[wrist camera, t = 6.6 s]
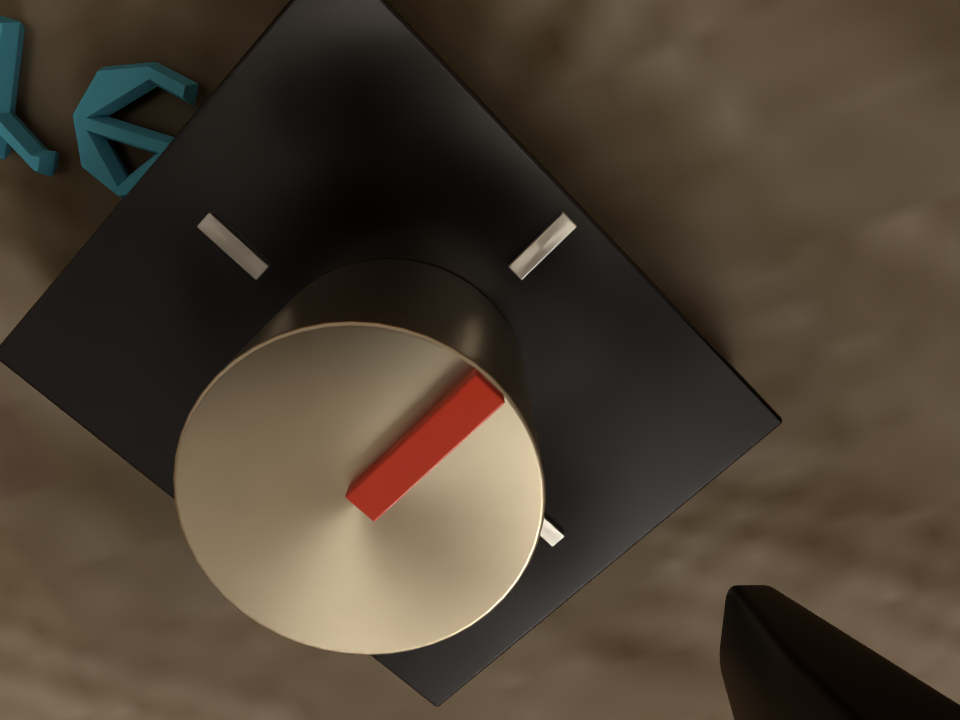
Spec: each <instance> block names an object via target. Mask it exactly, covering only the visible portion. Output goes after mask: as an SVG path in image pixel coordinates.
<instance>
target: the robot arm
mask: <svg viewBox="0 0 960 720" xmlns="http://www.w3.org/2000/svg"><path fill="white" fill-rule="evenodd" d="M720 666H721V672H722V676H723V680H724V683H725V687H726V691H727V694H728V698H729V702H730V705H731V709H732V713H733V716H734V720H960V705H959V704H957V703H956V702H954V701H952V700H951V699H949V698H948V697H946V696H944V695H943V694H941V693H940V692H938V691H936V690H935V689H933V688H932V687H930V686H929V685H927V684H925V683H924V682H922V681H921V680H919V679H917V678H916V677H914V676H913V675H911V674H909V673H908V672H906V671H905V670H903V669H901V668H900V667H898V666H897V665H895V664H893V663H892V662H890V661H889V660H887V659H886V658H884V657H882V656H881V655H879V654H878V653H876V652H874V651H873V650H871V649H870V648H868V647H866V646H865V645H863V644H862V643H860V642H858V641H857V640H855V639H854V638H852V637H850V636H849V635H847V634H846V633H844V632H843V631H841V630H839V629H838V628H836V627H835V626H833V625H831V624H830V623H828V622H827V621H825V620H823V619H822V618H820V617H819V616H817V615H815V614H814V613H812V612H811V611H809V610H807V609H806V608H804V607H803V606H801V605H800V604H798V603H796V602H795V601H793V600H792V599H790V598H788V597H787V596H785V595H784V594H782V593H780V592H779V591H777V590H776V589H774V588H772V587H770V586H766V585H736V586H733V587H732V588H730V589H729V591H728V593H727V596H726V601H725V610H724V618H723V627H722V635H721V644H720Z"/></svg>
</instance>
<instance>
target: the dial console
mask: <svg viewBox="0 0 960 720" xmlns="http://www.w3.org/2000/svg"><path fill="white" fill-rule="evenodd" d="M379 259H398V260H409V261H414V262H419V263H424V264H428V265H431V266H434V267H437V268H440V269H442V270H445V271H447V272H449V273H451V274H453V275H455V276H457V277H459V278H461V279H462V280H464V281H465V282H467V283H468V284H470V285H471V286H473V287H474V288H476V289H477V290H478V291H479V292H480V293H481V294H483V295H484V296H485V297H486V298H487V299H488V300H489V301H490V302H491V303H492V304H493V305H494V306H495V307H496V309H497V310H498V311H499V312H500V313H501V315H502V316H503V318H504V319H505V321H506V322H507V324H508V325H509V327H510V328H511V330H512V332H513V334H514V336H515V338H516V340H517V342H518V345H519V348H520V351H521V354H522V357H523V361H524V367H525V372H526V377H527V383H528V388H529V394H530V399H531V405H532V410H533V416H534V421H535V426H536V432H537V437H538V443H539V448H540V454H541V459H542V465H543V470H544V475H545V490H546V504H545V513H544V522H543V526H542V530H541V534H540V537H539V541H538V544H537V546H536V549H535V551H534V554H533V556H532V558H531V561H530V563H529V564H528V566H527V568H526V569H525V571H524V573H523V574H522V576H521V578H520V579H519V581H518V582H517V584H516V585H515V586H514V587H513V588H512V590H511V591H510V592H509V593H508V595H507V596H506V597H505V598H504V599H503V600H502V601H501V602H500V603H499V604H498V605H497V606H496V607H495V608H494V609H493V610H492V611H491V612H490V613H488V614H487V615H486V616H484V617H483V618H482V619H480V620H479V621H478V622H476V623H475V624H473V625H472V626H470V627H469V628H467V629H465V630H463V631H461V632H460V633H458V634H456V635H454V636H452V637H450V638H447V639H445V640H442V641H440V642H438V643H435V644H433V645H429V646H425V647H422V648H418V649H415V650H411V651H405V652H399V653H392V654H379V655H371V656H373V657H374V658H375V659H376V660H378V661H379V662H380V663H382V664H383V665H384V666H385V667H387V668H388V669H389V670H390V671H392V672H393V673H394V674H395V675H397V676H398V677H399V678H400V679H402V680H403V681H404V682H405V683H407V684H408V685H409V686H410V687H412V688H413V689H414V690H416V691H417V692H418V693H419V694H421V695H422V696H423V697H424V698H426V699H427V700H428V701H429V702H431V703H432V704H433V705H434V706H437V707H438V706H440V705H441V704H442V703H443V702H444V701H446V700H447V699H448V698H449V697H451V696H452V695H453V694H454V693H455V692H457V691H458V690H459V689H460V688H461V687H463V686H464V685H465V684H466V683H467V682H469V681H470V680H471V679H472V678H474V677H475V676H476V675H477V674H478V673H480V672H481V671H482V670H483V669H484V668H486V667H487V666H488V665H489V664H490V663H492V662H493V661H494V660H495V659H497V658H498V657H499V656H500V655H501V654H503V653H504V652H505V651H506V650H507V649H509V648H510V647H511V646H512V645H513V644H515V643H516V642H517V641H518V640H520V639H521V638H522V637H523V636H524V635H526V634H527V633H528V632H529V631H530V630H532V629H533V628H534V627H535V626H536V625H538V624H539V623H540V622H541V621H543V620H544V619H545V618H546V617H547V616H549V615H550V614H551V613H552V612H553V611H555V610H556V609H557V608H558V607H559V606H561V605H562V604H563V603H564V602H566V601H567V600H568V599H569V598H570V597H572V596H573V595H574V594H575V593H576V592H578V591H579V590H580V589H581V588H582V587H584V586H585V585H586V584H587V583H589V582H590V581H591V580H592V579H593V578H595V577H596V576H597V575H598V574H599V573H601V572H602V571H603V570H604V569H605V568H607V567H608V566H609V565H610V564H612V563H613V562H614V561H615V560H616V559H618V558H619V557H620V556H621V555H622V554H624V553H625V552H626V551H627V550H628V549H630V548H631V547H632V546H633V545H635V544H636V543H637V542H638V541H639V540H641V539H642V538H643V537H644V536H645V535H647V534H648V533H649V532H650V531H652V530H653V529H654V528H655V527H656V526H658V525H659V524H660V523H661V522H662V521H664V520H665V519H666V518H667V517H668V516H670V515H671V514H672V513H673V512H675V511H676V510H677V509H678V508H679V507H681V506H682V505H683V504H684V503H685V502H687V501H688V500H689V499H690V498H691V497H693V496H694V495H695V494H696V493H698V492H699V491H700V490H701V489H702V488H704V487H705V486H706V485H707V484H708V483H710V482H711V481H712V480H713V479H714V478H716V477H717V476H718V475H719V474H721V473H722V472H723V471H724V470H725V469H727V468H728V467H729V466H730V465H731V464H733V463H734V462H735V461H736V460H737V459H739V458H740V457H741V456H742V455H744V454H745V453H746V452H747V451H748V450H750V449H751V448H752V447H753V446H754V445H756V444H757V443H758V442H759V441H760V440H762V439H763V438H764V437H765V436H767V435H768V434H769V433H770V432H771V431H773V430H774V429H775V428H776V427H777V426H779V425H780V424H781V423H782V419H781V417H780V416H779V415H778V414H777V413H776V412H775V411H774V410H773V408H772V407H771V406H770V405H769V404H768V403H767V402H766V401H765V400H764V399H763V398H762V397H761V396H760V395H759V394H758V393H757V392H756V390H755V389H754V388H753V387H752V386H751V385H750V384H749V383H748V382H747V381H746V380H745V379H744V378H743V377H742V376H741V375H740V374H739V373H738V371H737V370H736V369H735V368H734V367H733V366H732V365H731V364H730V363H729V362H728V361H727V360H726V359H725V358H724V357H723V356H722V355H721V354H720V352H719V351H718V350H717V349H716V348H715V347H714V346H713V345H712V344H711V343H710V342H709V341H708V340H707V339H706V338H705V337H704V336H703V334H702V333H701V332H700V331H699V330H698V329H697V328H696V327H695V326H694V325H693V324H692V323H691V322H690V321H689V320H688V319H687V318H686V317H685V315H684V314H683V313H682V312H681V311H680V310H679V309H678V308H677V307H676V306H675V305H674V304H673V303H672V302H671V301H670V300H669V299H668V297H667V296H666V295H665V294H664V293H663V292H662V291H661V290H660V289H659V288H658V287H657V286H656V285H655V284H654V283H653V282H652V281H651V280H650V278H649V277H648V276H647V275H646V274H645V273H644V272H643V271H642V270H641V269H640V268H639V267H638V266H637V265H636V264H635V263H634V262H633V260H632V259H631V258H630V257H629V256H628V255H627V254H626V253H625V252H624V251H623V250H622V249H621V248H620V247H619V246H618V245H617V244H616V243H615V241H614V240H613V239H612V238H611V237H610V236H609V235H608V234H607V233H606V232H605V231H604V230H603V229H602V228H601V227H600V226H599V225H598V224H597V222H596V221H595V220H594V219H593V218H592V217H591V216H590V215H589V214H588V213H587V212H586V211H585V210H584V209H583V208H582V207H581V206H580V204H579V203H578V202H577V201H576V200H575V199H574V198H573V197H572V196H571V195H570V194H569V193H568V192H567V191H566V190H565V189H564V188H563V187H562V185H561V184H560V183H559V182H558V181H557V180H556V179H555V178H554V177H553V176H552V175H551V174H550V173H549V172H548V171H547V170H546V169H545V167H544V166H543V165H542V164H541V163H540V162H539V161H538V160H537V159H536V158H535V157H534V156H533V155H532V154H531V153H530V152H529V151H528V150H527V148H526V147H525V146H524V145H523V144H522V143H521V142H520V141H519V140H518V139H517V138H516V137H515V136H514V135H513V134H512V133H511V132H510V131H509V129H508V128H507V127H506V126H505V125H504V124H503V123H502V122H501V121H500V120H499V119H498V118H497V117H496V116H495V115H494V114H493V113H492V111H491V110H490V109H489V108H488V107H487V106H486V105H485V104H484V103H483V102H482V101H481V100H480V99H479V98H478V97H477V96H476V95H475V94H474V92H473V91H472V90H471V89H470V88H469V87H468V86H467V85H466V84H465V83H464V82H463V81H462V80H461V79H460V78H459V77H458V76H457V74H456V73H455V72H454V71H453V70H452V69H451V68H450V67H449V66H448V65H447V64H446V63H445V62H444V61H443V60H442V59H441V58H440V57H439V55H438V54H437V53H436V52H435V51H434V50H433V49H432V48H431V47H430V46H429V45H428V44H427V43H426V42H425V41H424V40H423V39H422V37H421V36H420V35H419V34H418V33H417V32H416V31H415V30H414V29H413V28H412V27H411V26H410V25H409V24H408V23H407V22H406V21H405V20H404V18H403V17H402V16H401V15H400V14H399V13H398V12H397V11H396V10H395V9H394V8H393V7H392V6H391V5H390V4H389V3H388V2H387V1H386V0H290V1H289V2H288V3H287V5H286V6H285V7H284V8H283V9H282V11H281V12H280V13H279V14H278V15H277V16H276V18H275V19H274V20H273V21H272V22H271V24H270V25H269V26H268V27H267V28H266V30H265V31H264V32H263V33H262V34H261V36H260V37H259V38H258V39H257V40H256V41H255V43H254V44H253V45H252V46H251V47H250V49H249V50H248V51H247V52H246V53H245V55H244V56H243V57H242V58H241V59H240V60H239V62H238V63H237V64H236V65H235V66H234V68H233V69H232V70H231V71H230V72H229V74H228V75H227V76H226V77H225V78H224V79H223V81H222V82H221V83H220V84H219V85H218V87H217V88H216V89H215V90H214V91H213V93H212V94H211V95H210V96H209V97H208V99H207V100H206V101H205V102H204V103H203V104H202V106H201V107H200V108H199V109H198V110H197V112H196V113H195V114H194V115H193V116H192V118H191V119H190V120H189V121H188V122H187V123H186V125H185V126H184V127H183V128H182V129H181V131H180V132H179V133H178V134H177V135H176V137H175V138H174V139H173V140H172V141H171V142H170V144H169V145H168V146H167V147H166V148H165V150H164V151H163V152H162V153H161V154H160V156H159V157H158V158H157V159H156V160H155V162H154V163H153V164H152V165H151V166H150V167H149V169H148V170H147V171H146V172H145V173H144V175H143V176H142V177H141V178H140V179H139V181H138V182H137V183H136V184H135V185H134V186H133V188H132V189H131V190H130V191H129V192H128V194H127V195H126V196H125V197H124V198H123V200H122V201H121V202H120V203H119V204H118V205H117V207H116V208H115V209H114V210H113V211H112V213H111V214H110V215H109V216H108V217H107V219H106V220H105V221H104V222H103V223H102V224H101V226H100V227H99V228H98V229H97V230H96V232H95V233H94V234H93V235H92V236H91V238H90V239H89V240H88V241H87V242H86V244H85V245H84V246H83V247H82V248H81V249H80V251H79V252H78V253H77V254H76V255H75V257H74V258H73V259H72V260H71V261H70V263H69V264H68V265H67V266H66V267H65V268H64V270H63V271H62V272H61V273H60V274H59V276H58V277H57V278H56V279H55V280H54V282H53V283H52V284H51V285H50V286H49V287H48V289H47V290H46V291H45V292H44V293H43V295H42V296H41V297H40V298H39V299H38V301H37V302H36V303H35V304H34V305H33V307H32V308H31V309H30V310H29V311H28V312H27V314H26V315H25V316H24V317H23V318H22V320H21V321H20V322H19V323H18V324H17V326H16V327H15V328H14V329H13V330H12V331H11V333H10V334H9V335H8V336H7V337H6V339H5V340H4V341H3V342H2V343H1V345H0V361H1V362H2V363H3V364H5V365H6V366H7V367H8V368H10V369H11V370H12V371H14V372H15V373H16V374H17V375H19V376H20V377H21V378H22V379H24V380H25V381H26V382H27V383H29V384H30V385H31V386H32V387H34V388H35V389H36V390H37V391H39V392H40V393H41V394H42V395H44V396H45V397H46V398H48V399H49V400H50V401H51V402H53V403H54V404H55V405H56V406H58V407H59V408H60V409H61V410H63V411H64V412H65V413H66V414H68V415H69V416H70V417H71V418H73V419H74V420H75V421H77V422H78V423H79V424H80V425H82V426H83V427H84V428H85V429H87V430H88V431H89V432H90V433H92V434H93V435H94V436H95V437H97V438H98V439H99V440H100V441H102V442H103V443H104V444H106V445H107V446H108V447H109V448H111V449H112V450H113V451H114V452H116V453H117V454H118V455H119V456H121V457H122V458H123V459H124V460H126V461H127V462H128V463H129V464H131V465H132V466H133V467H134V468H136V469H137V470H138V471H140V472H141V473H142V474H143V475H145V476H146V477H147V478H148V479H150V480H151V481H152V482H153V483H155V484H156V485H157V486H158V487H160V488H161V489H162V490H163V491H165V492H166V493H167V494H169V495H170V496H171V497H172V498H174V481H173V475H174V463H175V454H176V450H177V446H178V442H179V438H180V434H181V431H182V429H183V426H184V424H185V421H186V419H187V417H188V414H189V412H190V410H191V409H192V407H193V405H194V404H195V402H196V400H197V399H198V397H199V395H200V394H201V392H202V391H203V390H204V389H205V388H206V386H207V385H208V384H209V383H210V381H211V380H212V379H213V378H214V377H215V375H216V374H217V373H218V372H219V371H220V370H221V369H222V368H223V367H224V366H225V365H226V364H227V363H228V362H229V361H230V360H231V359H232V358H233V357H234V356H235V355H236V354H237V353H238V352H239V351H240V350H241V349H242V348H243V347H244V346H245V345H246V344H247V343H248V342H249V341H250V340H251V339H252V338H253V337H254V336H255V335H256V334H257V333H258V332H259V331H260V330H261V329H262V328H263V327H264V326H265V325H266V324H267V323H268V322H269V321H270V320H271V319H272V318H273V317H274V316H275V315H276V314H277V313H278V312H279V311H280V310H281V309H282V308H283V307H284V306H285V305H286V304H287V303H288V302H289V301H290V300H291V299H293V298H294V297H295V296H296V295H297V294H298V293H299V292H300V291H301V290H302V289H304V288H305V287H306V286H307V285H309V284H310V283H312V282H313V281H315V280H316V279H318V278H319V277H321V276H323V275H325V274H327V273H329V272H331V271H333V270H335V269H338V268H341V267H344V266H347V265H350V264H353V263H358V262H363V261H368V260H379ZM174 499H175V498H174Z"/></svg>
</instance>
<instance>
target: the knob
mask: <svg viewBox="0 0 960 720" xmlns="http://www.w3.org/2000/svg"><path fill="white" fill-rule="evenodd" d="M173 481H174V498H175V505H176V509H177V514H178V519H179V523H180V526H181V529H182V532H183V534H184V537H185V540H186V543H187V545H188V547H189V549H190V551H191V553H192V554H193V556H194V558H195V560H196V562H197V564H198V565H199V567H200V568H201V569H202V571H203V572H204V574H205V575H206V577H207V578H208V580H209V581H210V582H211V583H212V584H213V585H214V586H215V588H216V589H217V590H218V591H219V592H220V593H221V594H222V595H223V597H224V598H226V599H227V600H228V601H229V602H230V603H231V604H232V605H234V606H235V607H236V608H237V609H238V610H239V611H240V612H242V613H243V614H245V615H246V616H248V617H249V618H250V619H252V620H253V621H255V622H256V623H258V624H259V625H261V626H263V627H265V628H266V629H268V630H270V631H272V632H274V633H276V634H278V635H279V636H282V637H284V638H287V639H289V640H292V641H294V642H297V643H299V644H302V645H306V646H310V647H313V648H317V649H320V650H325V651H331V652H337V653H343V654H357V655H379V654H392V653H399V652H405V651H411V650H415V649H418V648H422V647H425V646H429V645H433V644H435V643H438V642H440V641H442V640H445V639H447V638H450V637H452V636H454V635H456V634H458V633H460V632H461V631H463V630H465V629H467V628H469V627H470V626H472V625H473V624H475V623H476V622H478V621H479V620H480V619H482V618H483V617H484V616H486V615H487V614H488V613H490V612H491V611H492V610H493V609H494V608H495V607H496V606H497V605H498V604H499V603H500V602H501V601H502V600H503V599H504V598H505V597H506V596H507V595H508V593H509V592H510V591H511V590H512V588H513V587H514V586H515V585H516V584H517V582H518V581H519V579H520V578H521V576H522V574H523V573H524V571H525V569H526V568H527V566H528V564H529V563H530V561H531V558H532V556H533V554H534V551H535V549H536V546H537V544H538V541H539V537H540V534H541V530H542V526H543V522H544V513H545V504H546V490H545V475H544V470H543V465H542V459H541V454H540V448H539V443H538V437H537V432H536V426H535V421H534V416H533V410H532V405H531V399H530V394H529V388H528V383H527V377H526V372H525V367H524V361H523V357H522V354H521V351H520V348H519V345H518V342H517V340H516V338H515V336H514V334H513V332H512V330H511V328H510V327H509V325H508V324H507V322H506V321H505V319H504V318H503V316H502V315H501V313H500V312H499V311H498V310H497V309H496V307H495V306H494V305H493V304H492V303H491V302H490V301H489V300H488V299H487V298H486V297H485V296H484V295H483V294H481V293H480V292H479V291H478V290H477V289H476V288H474V287H473V286H471V285H470V284H468V283H467V282H465V281H464V280H462V279H461V278H459V277H457V276H455V275H453V274H451V273H449V272H447V271H445V270H442V269H440V268H437V267H434V266H431V265H428V264H424V263H419V262H414V261H409V260H398V259H379V260H368V261H363V262H358V263H353V264H350V265H347V266H344V267H341V268H338V269H335V270H333V271H331V272H329V273H327V274H325V275H323V276H321V277H319V278H318V279H316V280H315V281H313V282H312V283H310V284H309V285H307V286H306V287H305V288H304V289H302V290H301V291H300V292H299V293H298V294H297V295H296V296H295V297H294V298H293V299H291V300H290V301H289V302H288V303H287V304H286V305H285V306H284V307H283V308H282V309H281V310H280V311H279V312H278V313H277V314H276V315H275V316H274V317H273V318H272V319H271V320H270V321H269V322H268V323H267V324H266V325H265V326H264V327H263V328H262V329H261V330H260V331H259V332H258V333H257V334H256V335H255V336H254V337H253V338H252V339H251V340H250V341H249V342H248V343H247V344H246V345H245V346H244V347H243V348H242V349H241V350H240V351H239V352H238V353H237V354H236V355H235V356H234V357H233V358H232V359H231V360H230V361H229V362H228V363H227V364H226V365H225V366H224V367H223V368H222V369H221V370H220V371H219V372H218V373H217V374H216V375H215V377H214V378H213V379H212V380H211V381H210V383H209V384H208V385H207V386H206V388H205V389H204V390H203V391H202V392H201V394H200V395H199V397H198V399H197V400H196V402H195V404H194V405H193V407H192V409H191V410H190V412H189V414H188V417H187V419H186V421H185V424H184V426H183V429H182V431H181V434H180V438H179V442H178V446H177V450H176V454H175V463H174V475H173Z"/></svg>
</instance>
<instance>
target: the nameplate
mask: <svg viewBox="0 0 960 720" xmlns="http://www.w3.org/2000/svg"><path fill="white" fill-rule="evenodd" d="M24 33H25V27H24V26H23V24H22V23H21V22H20V21H17V20H13V19H10V18H7V17H4V16H1V15H0V159H5V158H6V157H7V156H8V155H9V153H10V152H11V147H12V148H13V149H14V150H15V151H16V152H17V153H18V154H19V155H20V156H21V157H22V158H23V159H24V161H25V162H26V163H27V164H28V165H29V166H30V167H31V168H32V169H33V170H34V171H36V172H38V173H41V174H44V175H48V176H53V175H54V173H55V172H56V171H57V169H58V163H59V154H58V153H57V152H56V151H50V150H47V148H46V147H45V146H44V145H43V144H42V143H41V142H40V141H39V140H38V139H37V137H36V136H35V135H34V134H33V133H32V132H31V131H30V130H29V129H28V127H27V126H26V125H25V124H24V123H23V122H22V121H21V120H20V119H19V118H18V116H17V115H16V114H15V110H16V101H17V93H18V84H19V76H20V67H21V58H22V50H23V41H24ZM157 86H158V87H160V88H162V89H164V90H165V91H167V92H169V93H171V94H172V95H174V96H176V97H178V98H179V99H181V100H183V101H185V102H186V103H188V104H190V105H192V106H194V105H195V102H196V99H197V94H198V89H199V86H198V83H196V82H194V81H192V80H190V79H188V78H186V77H184V76H182V75H181V74H179V73H177V72H175V71H173V70H171V69H169V68H167V67H165V66H163V65H161V64H159V63H157V62H149V63H138V64H127V65H116V66H105V67H102V68H101V69H100V70H98V72H97V73H96V75H95V77H94V79H93V80H92V82H91V84H90V86H89V87H88V89H87V91H86V93H85V94H84V96H83V98H82V100H81V101H80V103H79V105H78V107H77V108H76V110H75V112H74V114H73V120H74V125H75V131H76V137H77V143H78V148H79V154H80V160H81V166H82V167H83V168H84V169H85V170H86V171H88V172H89V173H90V174H91V175H93V176H94V177H95V178H96V179H98V180H99V181H100V182H101V183H102V184H104V185H105V186H106V187H107V188H109V189H110V190H111V191H112V192H114V193H115V194H116V195H117V196H119V197H121V198H124V197H125V196H126V195H127V194H128V192H129V191H130V190H131V189H132V188H133V186H134V185H135V184H136V183H137V182H138V181H139V179H140V178H141V177H142V176H143V175H144V173H145V172H146V171H147V170H148V169H149V167H150V166H151V165H152V164H153V163H154V162H155V160H156V159H157V158H158V157H159V156H160V154H161V153H162V152H163V151H164V150H165V148H166V147H167V146H168V145H169V144H170V142H171V141H172V140H173V139H174V138H175V137H172V136H169V135H166V134H162V133H159V132H156V131H153V130H150V129H146V128H143V127H140V126H137V125H134V124H130V123H127V122H124V121H121V120H118V119H114V118H111V117H108V116H110V115H111V114H113V113H115V112H116V111H118V110H120V109H121V108H123V107H124V106H126V105H128V104H129V103H131V102H133V101H134V100H136V99H137V98H139V97H141V96H142V95H144V94H146V93H147V92H149V91H151V90H152V89H154V88H155V87H157ZM110 140H113V141H117V142H120V143H123V144H126V145H129V146H133V147H136V148H139V149H142V150H146V151H149V152H152V153H155V154H154V155H153V156H152V157H151V158H150V159H148V160H147V161H146V162H145V163H144V164H142V165H141V166H140V167H139V168H138V169H136V170H135V171H134V172H133V173H132V174H130V175H129V174H128V172H127V170H126V168H125V167H124V165H123V163H122V161H121V159H120V157H119V156H118V154H117V152H116V150H115V148H114V146H113V145H112V143H111V141H110Z"/></svg>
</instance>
